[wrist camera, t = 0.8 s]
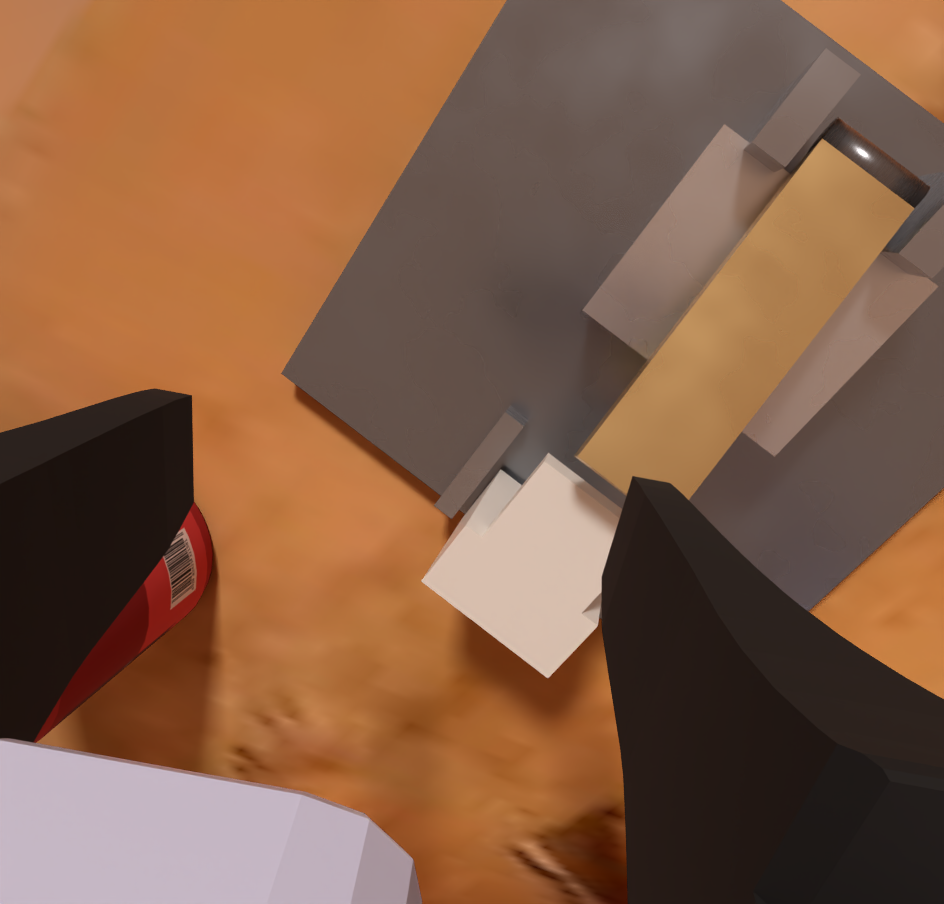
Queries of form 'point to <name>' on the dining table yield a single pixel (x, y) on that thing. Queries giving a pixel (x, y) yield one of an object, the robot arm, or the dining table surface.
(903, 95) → the base plate
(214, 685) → the dining table surface
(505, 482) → the latch
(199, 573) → the canned food
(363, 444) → the dining table surface
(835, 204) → the strap
